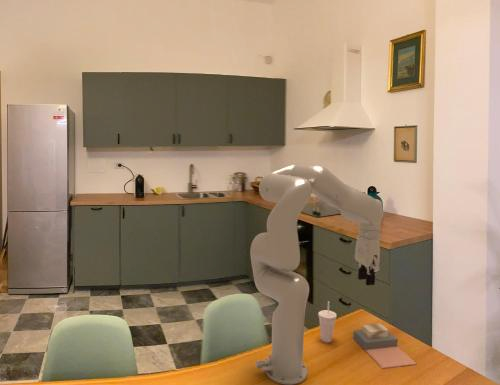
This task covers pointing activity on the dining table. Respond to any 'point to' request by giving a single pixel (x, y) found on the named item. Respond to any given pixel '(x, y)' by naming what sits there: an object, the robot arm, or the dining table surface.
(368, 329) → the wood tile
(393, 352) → the mat
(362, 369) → the dining table surface
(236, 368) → the dining table surface
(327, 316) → the smoothie
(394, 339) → the plate
